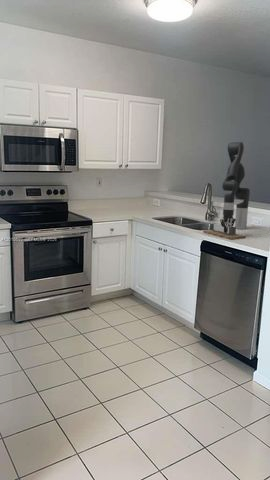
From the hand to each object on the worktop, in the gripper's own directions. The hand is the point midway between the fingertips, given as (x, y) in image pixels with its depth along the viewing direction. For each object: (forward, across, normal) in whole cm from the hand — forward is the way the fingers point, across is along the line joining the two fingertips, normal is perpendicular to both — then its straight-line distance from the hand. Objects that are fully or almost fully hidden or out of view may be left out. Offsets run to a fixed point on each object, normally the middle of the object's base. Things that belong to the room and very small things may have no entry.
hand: (227, 232), depth 283 cm
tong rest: (+3, 0, +3) cm, 4 cm away
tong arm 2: (0, +1, +3) cm, 3 cm away
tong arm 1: (0, -1, +3) cm, 3 cm away
